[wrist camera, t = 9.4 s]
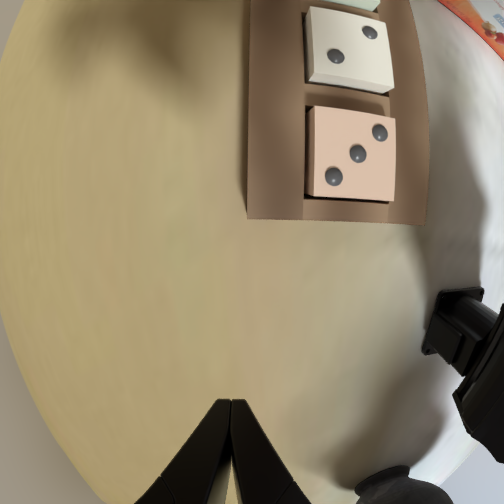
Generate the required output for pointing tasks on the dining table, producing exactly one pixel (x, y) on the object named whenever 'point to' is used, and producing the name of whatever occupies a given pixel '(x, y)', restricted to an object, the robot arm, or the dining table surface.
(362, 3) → the tile one
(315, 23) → the tile two
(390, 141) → the tile three
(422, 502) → the pitcher
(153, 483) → the robot arm
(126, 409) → the dining table surface
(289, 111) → the frame board
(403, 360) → the dining table surface
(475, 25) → the cracker box
